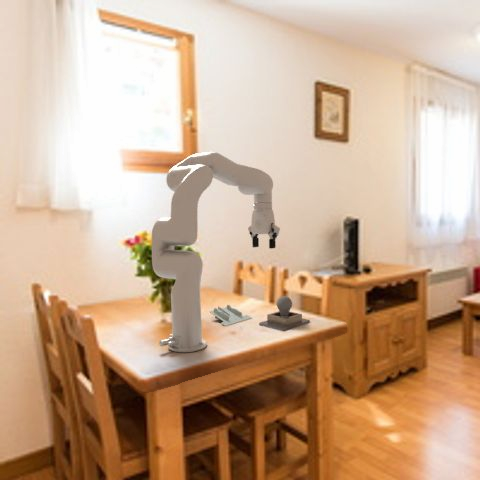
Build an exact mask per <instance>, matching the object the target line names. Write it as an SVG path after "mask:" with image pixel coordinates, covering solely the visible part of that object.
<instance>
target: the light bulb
mask: <svg viewBox="0 0 480 480" xmlns="http://www.w3.org/2000/svg"><path fill="white" fill-rule="evenodd" d="M291 299H292V298H290V297H289V296H286V295H283V296H280V297H278V299H277V300H276V307H277V309H278V310H279V311H280V315H281V317H284V318H287V317H288V314H289V311H290V312H291V309H292V307H293V302H292V300H291Z"/></svg>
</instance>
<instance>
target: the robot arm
mask: <svg viewBox="0 0 480 480" xmlns="http://www.w3.org/2000/svg"><path fill="white" fill-rule="evenodd" d="M165 179H166V181H165V182H166V185H167V187H168V188H169V189H170V190H171V191H173V192H174V193H173V195H172V198H171V203H170V217H169V216H167V217H161V218H159V219H157V220H156V221H155V223H154V224H153V227H152V230H151V263H152V264H151V266H152V270H153V271H154V273H155V274H156V276H158V277H160V278H163V279H171V280H175V282H174V284H173V286H172V288H171V292H170V303H171V306H170V307H171V331H172V332H171V333H170V334H169V336H168V337H167V338H166V339H161V340H159V343H158V344H159V346H160V348H161V347H165V346H167V348H168V350H170V351H172V352H176V353H192V352H197V351H200V350H203V349H205V348H206V347H207V344H208V342H207V340H205V338H203V337H202V307H201V306H202V304H201V300H202V299H201V279H202V273H203V267H204V264H203V260H202V257H201V256H200V255H199V254H198V253H197V252H195V251H191V250H186V249H185V250H183V249H177V250H176V249H175V247H188V246H189V247H190V246H192V245H194V244H195V243H196V242H197V239H198V207H199V206H198V205H199V201H200V198H201V197H202V195H203V193H204V192H205V191H206V190H208V188H209V187H210V185H211V184H212V182H213V179H215V180H217V181H219V182H221V183H222V184H225V185H227V186H233V187H237V189H238V191H239V192H240V193H241V194H242V195H246V196H247V195H248V196H251V195H253V205H252V207H253V210H252V213H251V221H250V222H251V223H250V226H248V227H247V229H248V232H249V236H250V238H252V239H251V241H252V244H251V245H252V248H259V247H260V246H259V245H260V243H259V242H260V241H259V235H268V238H269V240H268V245H269V246H268V247H269V249H275V248H276V240H277V238H278V236H279V233H280V230H281V228H280V227H279V226H278V225H276V219H275V215H274V214H275V213H274V210H273V192H272V191H273V188H274V181H273V179H272V177H271V176H270V174H268V173H266V172H265V171H263V170H261V169H259V168H255V167H251V166H248V165H243V164H240V163H237V162H235V161H233V160H231V159H230V158H228V157H225V156H224V155H223V154H221V153H219V152H215V151H208V152H201V153H195V154H192V155H190V156H188V157H187V158H185V159H183V160H182V161H181V162H179V163H177V164H176V165H174V166H173V167H172V168H171V169H169V171H168V172H167V174H166V178H165Z"/></svg>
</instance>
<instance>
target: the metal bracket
mask: <svg viewBox="0 0 480 480" xmlns="http://www.w3.org/2000/svg"><path fill="white" fill-rule="evenodd" d="M209 313H210V314H211V315H213V316H214V318H215V319H216V318H217V319H219V320H220V321H222V322H220V324H221V325H222V326H224V327H229V326H232V325H235V324H238V323H241V322H244V321H250V320H252V319H253V318H252V316H250V315H248V314H245V315H243V313H242V311H240V310H238V309H236V308H234V307H232V306H231V305H230V304H227V305H226V306H225V307H220V306H217V307H215V308H214V309H213V310H210V311H209Z"/></svg>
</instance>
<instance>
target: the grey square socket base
mask: <svg viewBox="0 0 480 480" xmlns="http://www.w3.org/2000/svg"><path fill="white" fill-rule="evenodd" d="M266 317H267V318H266V319H267V320H264V321H261V322H259V323H258V325H259V326H262V327H265V328H271V329H274V330H277V331H281V332H284V331H287V330H290V329H294V328H297V327H299V326H302V325H305V324H309V323H310V322H311V320H310V319H306V318H303V314H302V313H299V312H294V311H291V310H290V311H289V314H288V317H287V318H284V317H281V315H280V311H276V312H275V311H274V312H273V313H272V312H271V313H268V314H267V316H266Z"/></svg>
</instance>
